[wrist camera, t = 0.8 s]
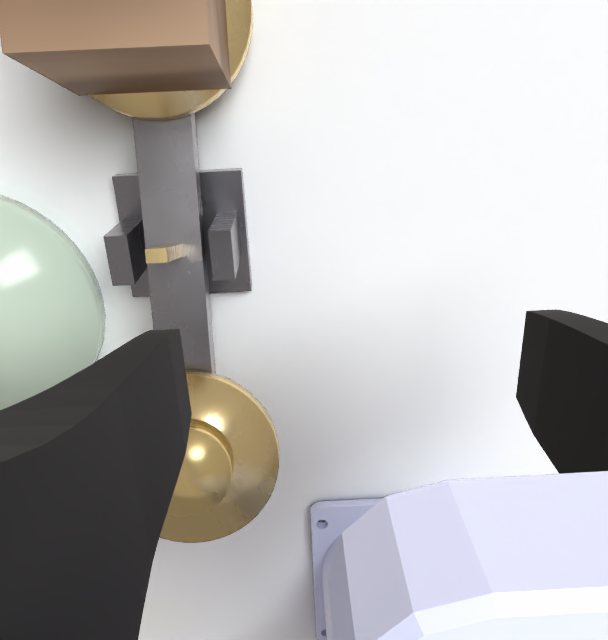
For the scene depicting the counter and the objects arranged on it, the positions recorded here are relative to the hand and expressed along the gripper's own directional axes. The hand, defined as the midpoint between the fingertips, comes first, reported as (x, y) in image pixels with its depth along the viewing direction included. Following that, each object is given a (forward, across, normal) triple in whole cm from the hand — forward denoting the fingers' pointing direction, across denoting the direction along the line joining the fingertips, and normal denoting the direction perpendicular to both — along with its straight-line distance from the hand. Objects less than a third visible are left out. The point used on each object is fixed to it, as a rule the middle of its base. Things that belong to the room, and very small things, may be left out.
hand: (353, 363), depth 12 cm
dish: (+10, +13, +2) cm, 16 cm away
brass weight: (+5, +5, +6) cm, 9 cm away
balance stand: (+10, +5, 0) cm, 11 cm away
